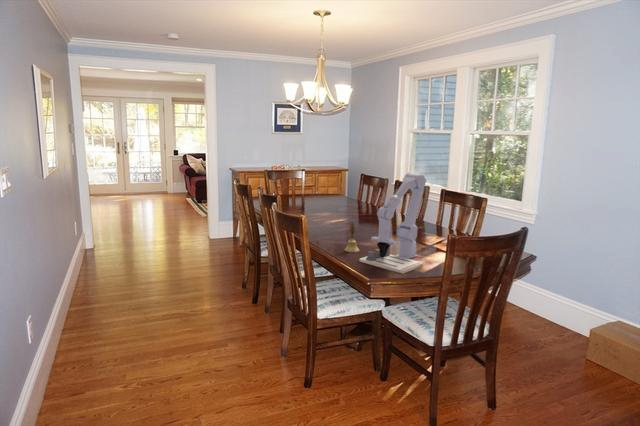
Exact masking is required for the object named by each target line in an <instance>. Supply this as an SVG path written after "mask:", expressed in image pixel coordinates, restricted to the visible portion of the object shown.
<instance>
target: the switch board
mask: <svg viewBox="0 0 640 426" xmlns="http://www.w3.org/2000/svg"><path fill="white" fill-rule="evenodd" d="M366 258H367V256H363V257H360V258H359V262H360V263H363V264H367V265H371V266H374V267H378V268H382V269H384V270H388V271H391V272H396V273H399V274H402V275H403V274H405V273H408V272H411V271H415V270H416V269H419V268H421V267H423V266H424V262H421V261H417V260H413V259H411V258H410V259H406V258H402V257H399V256H395V254H391V253H390V255H388V256H385V257H382V258H376V260H372V261H370V260H367V259H366Z"/></svg>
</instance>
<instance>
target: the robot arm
mask: <svg viewBox="0 0 640 426" xmlns="http://www.w3.org/2000/svg"><path fill="white" fill-rule="evenodd" d="M426 183H427V179H426V177H425V175H424V174H419V173H411V172H407V173H406V174H405V175H404V177H402V182H401V184H400V186H399V188H398V189H397V190H396V192H395V194H393V195H390V196H389V197H388V199H387V200H386V201H385V203H384V205H383V206H381V207H379V208H378V210H377V211H376V215H377V218H378V235H377V236H374V235H373V236H370V237H371V238H370V239H371V242H376V246H377V247H378V248H377V249H379V250H380V254H381V257H385V256H386V253H387V250H388V248H389V249H390V246H393V247H397V246H398V254H396V255H395V254H394V255H395V256H399V257H402V258H406V259H410V260H411V259H413V258H416V257H418V254H417V242H416V239H417V238H418V230H419V228H418V226H417V225H416V224H415V223H416V220H417V218H418V217H417V216H418V213H419V209H420V205H421V202H422V199H423V196H424V190H425V186H426ZM409 190H411V196H410V201H409V204H408V207H407V211H406V213H405V217H404V221H402V222H400V223H399V227H398V228H397V229H396V236H397V238H398V240H399V241H395V240H393V239H391V223H392V221H391V219H393V218H394V214H395V210H396V209H397V207H398V206H399V205H401V199H402V198H403V196H405V194H406V193H407V192H408V191H409ZM398 243H399V244H398Z"/></svg>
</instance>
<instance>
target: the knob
mask: <svg viewBox="0 0 640 426" xmlns="http://www.w3.org/2000/svg"><path fill="white" fill-rule="evenodd" d="M366 257H367V258H366V259H367V260H370V261H372V260H376V257H375V251H372V250H369V251H367V255H366Z"/></svg>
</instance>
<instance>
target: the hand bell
mask: <svg viewBox="0 0 640 426" xmlns="http://www.w3.org/2000/svg"><path fill="white" fill-rule="evenodd" d="M355 228H356V227H355V222H354V221H352V222H350V226H349V232H350V239H349V240H348V241H347V245H346V247H345V248H344V251H345V252H347V253H358V252H360V249H359V248H358V246H357V241H356V240H355V239H354V236H355V235H354V233H355V231H356V230H355Z"/></svg>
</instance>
